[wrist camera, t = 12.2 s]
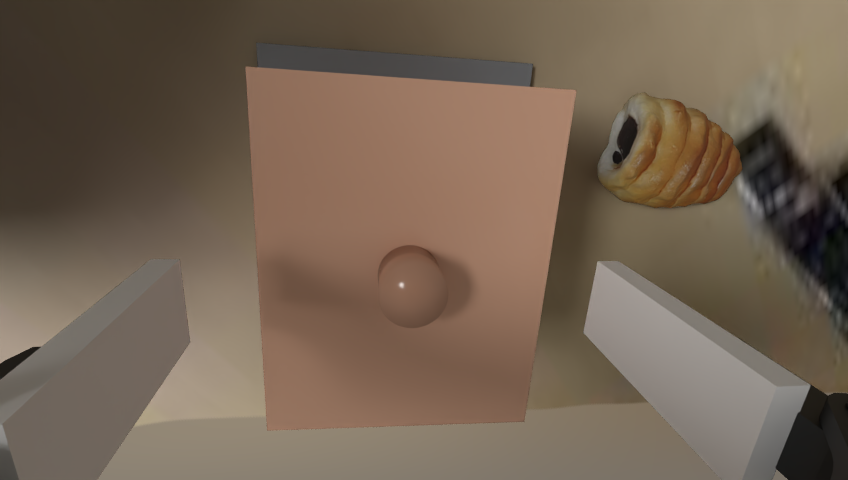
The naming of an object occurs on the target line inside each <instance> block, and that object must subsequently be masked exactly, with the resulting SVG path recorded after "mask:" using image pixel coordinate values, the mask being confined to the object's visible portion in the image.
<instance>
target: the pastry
mask: <svg viewBox="0 0 848 480" xmlns="http://www.w3.org/2000/svg"><path fill="white" fill-rule="evenodd" d="M597 170H598V178H599V180H600V182H601V183H602V185H603V186H604V187H605V188H606V189H608V190H609V191H610V192H612V193H613V194H614V195H615V196H617V197H618V198H619V199H620V200H622V201H625V202H632V203H639V204H644V205H648V206H651V207H654V208H658V207H667V208H673V207H676V206H684V207H685V206H687V205H691V204H695V203H702V204H705V203H708V202H711V201H715V200H717V199H719V198H720V197H721V196H722V195H723V194H724V193H725V192H726V191H727V189H728V188H729V186H730V185H731V184H732V181H733V180H734V178H735V177H736V176H737V175H738V174H739V173H740V172H741V170H742V164H741V161H740V153H739V151H738V150H737V148H736V147H735V146H734V145H733V139H732V138H731V137H730V135H729V134H727V133H724V132H723V131H722V130H721V127H720V126H719V125H717V124H716V123H713V122H711V121H709V120H708V119H707V116H706V114H704V113H702V112H700V111H699V110H698V109H693V108H686V107H685V106H684V105H683V104H682V103H681V102H679V101H676V100H671V99H659V98H655V97H651V96H649V95H648V94H646V93H639V94H636V95H634V96H633V97H631V98H630V99H629V100H628V102H627V103H626V104H625V105H624V107H623V109H622V110H621V111H620V112H619V113H618V114H617V116H616V119H615V120H614V122H613V124H612V130H611V133H610V136H609V144H608V146H607V148H606V149H605V150H604V152H603V153H602V155H601V158H600V160H599V163H598V165H597Z"/></svg>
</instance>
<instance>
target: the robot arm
mask: <svg viewBox="0 0 848 480" xmlns="http://www.w3.org/2000/svg"><path fill="white" fill-rule="evenodd" d="M583 333H584V334H585V335H586V336H587V337H588V338H589V339H590V341H591V342H592V343H593V344H594V345H595V346H596V347H597V348H598V349H599V350H600V351H601V352H602V353H603V354H604V355H605V356H606V358H607V359H608V360H609V361H610V362H611V363H612V364H613V365H614V366H615V367H616V368H617V369H618V370H619V371H620V372H621V374H622V375H623V376H624V377H625V378H626V379H627V380H628V381H629V382H630V383H631V384H632V385H633V386H634V387H635V388H636V390H637V391H638V392H639V393H640V394H641V395H642V396H643V397H644V398H645V399H646V400H647V401H648V402H649V403H650V404H651V405H652V407H654V409H655V410H656V411H657V412H658V413H659V414H660V415H661V416H662V417H663V418H664V419H665V420H666V421H667V423H668V424H669V425H670V426H671V427H672V428H673V429H674V430H675V431H676V432H677V433H678V434H679V435H680V436H681V437H682V438H683V440H684V441H685V442H686V443H687V444H688V445H689V446H690V447H691V448H692V449H693V450H694V451H695V452H696V453H697V454H698V456H699V457H700V458H701V459H702V460H703V461H704V462H705V463H706V464H707V465H708V466H709V467H710V468H711V469H712V470H713V471H714V473H715V474H716V475H717V476H718V477H719V478H720V479H721V480H772V479H773V477H774V474H775V472H776V469H777V470H778V471H779V472H780V473H781V474H783V475H784V476H785V477H786V478H787V479H788V480H848V394H847V393H833V394H831V395H829V396H828V395H826V394H824V393H823V392H821V391H820V390H818V389H817V388H815V387H814V386H812V385H810V384H809V383H807V382H806V381H804V380H803V379H801V378H800V377H798V376H797V375H795V374H793V373H792V372H790V371H789V370H787V369H786V368H784V367H783V366H781V365H779V364H778V363H776V362H774V361H773V360H772V359H770V358H769V357H767V356H765V355H764V354H762V353H760V352H759V351H758V350H756V349H755V348H753V347H751V346H750V345H748V344H747V343H745V342H744V341H742V340H741V339H739V338H737V337H735V336H734V335H732V334H731V333H729V332H728V331H726V330H724V329H723V328H721V327H720V326H718V325H717V324H715V323H714V322H712V321H711V320H709V319H707V318H706V317H704V316H703V315H701V314H700V313H698V312H697V311H695V310H693V309H692V308H690V307H689V306H687V305H686V304H684V303H683V302H681V301H680V300H678V299H676V298H675V297H673V296H672V295H670V294H669V293H667V292H666V291H664V290H662V289H661V288H659V287H658V286H656V285H655V284H653V283H652V282H650V281H649V280H647V279H645V278H644V277H642V276H641V275H639V274H638V273H636V272H635V271H633V270H631V269H630V268H628V267H627V266H625V265H624V264H622V263H621V262H619V261H598V262H597V267H596V272H595V277H594V282H593V287H592V292H591V297H590V302H589V307H588V312H587V317H586V322H585V327H584V332H583ZM189 343H190V336H189V329H188V321H187V313H186V305H185V297H184V289H183V281H182V273H181V266H180V259H151V260H149V261H148V262H147V263H146V264H144V265H143V266H142V267H141V268H139V269H138V270H137V271H136V272H134V273H133V274H132V275H131V276H129V277H128V278H127V279H126V280H124V281H123V282H122V283H121V284H119V285H118V286H117V287H116V288H114V289H113V290H112V291H111V292H109V293H108V294H107V295H106V296H104V297H103V298H102V299H101V300H99V301H98V302H97V303H96V304H94V305H93V306H92V307H91V308H89V309H88V310H87V311H86V312H84V313H83V314H82V315H81V316H79V317H78V318H77V319H76V320H74V321H73V322H72V323H71V324H69V325H68V326H67V327H66V328H64V329H63V330H62V331H61V332H59V333H58V334H57V335H56V336H54V337H53V338H52V339H51V340H49V341H48V342H47V343H46V344H44V345H43V346H42V347H32V348H30V349H28V350H26V351H24V352H22V353H20V354H18V355H16V356H14V357H11V358H9V359H7V360H5V361H3V362H2V363H1V364H0V480H97V479H98V478H99V476H100V475H101V473H102V472H103V470H104V469H105V467H106V466H107V464H108V463H109V461H110V460H111V459H112V457H113V456H114V454H115V453H116V451H117V449H118V448H119V446H120V445H121V444H122V442H123V441H124V439H125V438H126V436H127V435H128V433H129V432H130V430H131V429H132V427H133V426H134V424H135V423H136V422H137V420H138V419H139V417H140V416H141V414H142V413H143V411H144V410H145V408H146V407H147V405H148V404H149V402H150V401H151V399H152V398H153V396H154V395H155V393H156V392H157V390H158V389H159V387H160V386H161V385H162V383H163V382H164V380H165V379H166V377H167V376H168V374H169V373H170V371H171V370H172V368H173V367H174V365H175V364H176V362H177V361H178V359H179V358H180V356H181V355H182V353H183V352H184V351H185V349H186V348H187V346H188V345H189Z"/></svg>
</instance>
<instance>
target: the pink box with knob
mask: <svg viewBox="0 0 848 480" xmlns="http://www.w3.org/2000/svg"><path fill="white" fill-rule="evenodd" d="M246 83H247V100H248V116H249V133H250V150H251V167H252V184H253V200H254V217H255V234H256V251H257V268H258V284H259V301H260V318H261V335H262V352H263V368H264V385H265V402H266V419H267V430H268V431H269V430H298V429H326V428H356V427H384V426H412V425H413V426H414V425H443V424H472V423H499V422H524V420H525V414H526V408H527V401H528V395H529V389H530V382H531V376H532V370H533V363H534V357H535V351H536V344H537V338H538V332H539V325H540V319H541V313H542V306H543V300H544V294H545V287H546V281H547V275H548V268H549V262H550V255H551V249H552V243H553V236H554V230H555V224H556V217H557V211H558V205H559V198H560V192H561V186H562V179H563V173H564V167H565V160H566V154H567V148H568V141H569V135H570V129H571V122H572V116H573V110H574V103H575V97H576V91H577V90H567V89H553V88H539V87H525V86H511V85H497V84H483V83H469V82H455V81H441V80H427V79H413V78H399V77H385V76H371V75H357V74H343V73H329V72H315V71H301V70H287V69H273V68H259V67H246Z"/></svg>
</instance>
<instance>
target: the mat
mask: <svg viewBox="0 0 848 480" xmlns="http://www.w3.org/2000/svg"><path fill="white" fill-rule="evenodd" d="M256 46H257V64H258V67H259V68H273V69H287V70H301V71H315V72H329V73H343V74H357V75H371V76H385V77H399V78H413V79H427V80H441V81H455V82H469V83H483V84H497V85H511V86H525V87H530V82H531V74H532V66H533V64H528V63H515V62H502V61H489V60H476V59H463V58H450V57H437V56H424V55H411V54H398V53H384V52H371V51H358V50H345V49H332V48H319V47H306V46H293V45H280V44H267V43H256Z"/></svg>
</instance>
